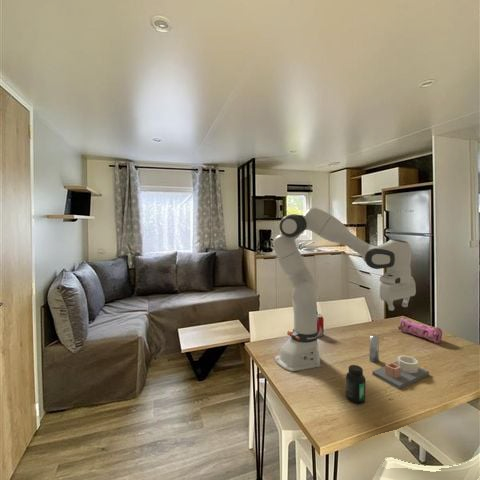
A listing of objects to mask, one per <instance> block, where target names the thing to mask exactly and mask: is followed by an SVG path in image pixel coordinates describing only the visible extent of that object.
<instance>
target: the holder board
mask: <svg viewBox="0 0 480 480" xmlns="http://www.w3.org/2000/svg"><path fill="white" fill-rule="evenodd" d="M371 372H372V373H371V375H372V376H374V377H376V378H378V379H379V380H381V381H383V382H385V383H387V384H388V385H390V386H393V387H394V388H396V389H398V390H401V389H403V388H405V387H407V386H410V385H411V384H413V383H416V382H418V381H420V380H422V379H424V378H427V376H429V375H430V371H428V370H426V369H424V368H422V367H419V361H418V360H417V358H415V357H413V356H412V357H411V356H408V355H398V356H397V361H395V362H391V361H390V362H388V363H386V364H384V366H382V367H379V368H377V369H374V370H372V371H371Z"/></svg>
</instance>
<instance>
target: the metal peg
mask: <svg viewBox="0 0 480 480" xmlns="http://www.w3.org/2000/svg"><path fill="white" fill-rule="evenodd" d="M379 355H380V337H379V335H376V334H370V335H369V357H368V358H369V361H370V362H371V363H377V364H378V363H379V361H380V357H379Z"/></svg>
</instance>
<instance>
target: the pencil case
mask: <svg viewBox="0 0 480 480" xmlns="http://www.w3.org/2000/svg"><path fill="white" fill-rule="evenodd" d="M397 328H398V330H400V331H401V332H403V333H406V334H409V335H412V336H413V335H414V336H417V337H419V338H424V339H426V340H428V341H431V342H434V343H435V344H439V343H440V342H441V341H442V338H443V330H442V329H441V328H439V326H437V327H436V326H430V325H427V324H425V323H420V322H417V321H416V322H415V321H412V320H410V319H408V318H407V317H405V316H404V317H401V318H400V321H399V325H398V326H397Z"/></svg>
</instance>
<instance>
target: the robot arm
mask: <svg viewBox="0 0 480 480" xmlns="http://www.w3.org/2000/svg"><path fill="white" fill-rule="evenodd" d="M306 230H307V231H311V232H313V233H314V234H316V235H317V236H319V237H320V238H322V239H323V240H326V241H328V242H331V243H337V244H341V245H344V246H346V247H347V248H349V249H351V250H352V251H354V252H356V253H357V254H358V255H359V256H361V258H362V259H363V261H364V262H365V263H366V265H367V266H368V267H370V268H371V269H374V270H380V269H387V270H386V272H385V273H384V274H382V275H381V276H380V277H379V282H380V284H379V299H380V300H381V301H384V302H386V304H387V306H388V311H394V310H395V306H394V301H397V300H401V299H403V300H402V302H401V307H403V308H408V307H409V306H408V305H409V301H410V297H414V296H415V295H416V293H417V290H416V286H417V285H416V281H415V280H414V277H413V275H412V270H411V269H412V268H411V262H412V251H411V249H412V248H411V244H410V243H409V242H407V241H406V240H402V239H394V238H393V239H391V238H390V239H389V240H388V241H386V242H384V243H381V244H379V245H377V244H373V243H372V244H371V243H369V242H366V241H364V240H363V239H362V238H359V237H358V236H356V235H354V234H353V233H352V232H351V231H350V230H349V229H348V228H347V226H346V225H345V224H344V223H343V222H342V221H341V220H339V219H338V218H337V217H335V216H334V215H332V214H330V213H328V212H326V211H324V210H322V209H320V208H317V207H310V208H308V209H307V210H306V211H305V212H304V213H303V214H294V213H292V214H287V215H285V216H283V217H282V218H281V220H280V222H279V231H280V234H278V235H276V236H275V237H274V239H273V241H272V245H273V249H274V252H275V255H276V257H277V259H278V262H279V264H280V267H281V269H282V271H283V273H284V275H285V277H287V279H288V280H289V281H290V283H291V285H292V286H293V287H292V290H291V291H292V292H291V296H292V297H291V299H292V309H293V329H292V331H290V330H288V331H287V333H286V334H287V335H288V336H290V338H289V339H288V340H287V341H286V342H285V343H284V344H283V345H282V346H281V347H280V350H279V354H278V355H277V356H274V361H275V362H276V363H277V364H278V366H279V367H281V368H282V369H284V370H286V371H289V372H296V371H297V372H299V371H303V370H308V369H314V368H318V367H321V363H320V362H321V356H320V351H319V346H318V345H319V344H318V339H319V337H318V331H317V314H318V312H317V311H318V310H317V295H318V290H319V287H318V285H317V283H316V280H315V279H314V277H313V276H312V273H311V272H310V270H309V269H308V267H307V265H306V263H305V261H304V259H303V256H302V254H301V252H300V251H299V248H298V246H297V244H296V239H297V238H299V237H300V236H301V235H303V233H304V232H305V231H306Z"/></svg>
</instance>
